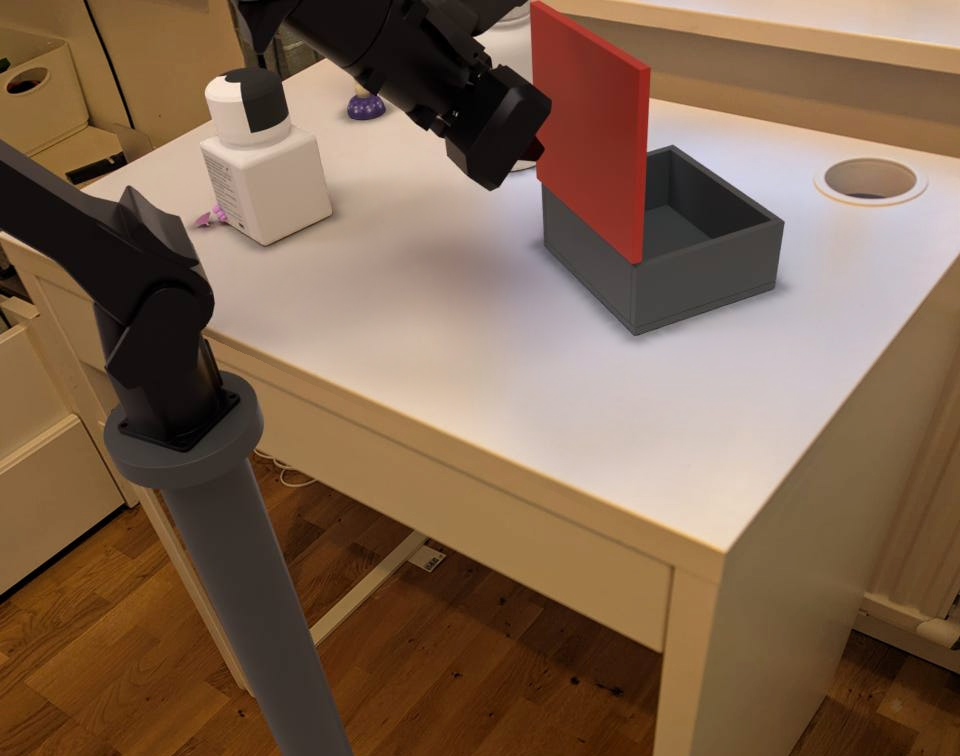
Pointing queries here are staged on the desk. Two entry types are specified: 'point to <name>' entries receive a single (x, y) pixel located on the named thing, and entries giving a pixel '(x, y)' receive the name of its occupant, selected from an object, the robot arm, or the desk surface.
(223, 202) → the container
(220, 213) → the pink bumpy piece
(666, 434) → the desk surface
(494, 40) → the pill bottle
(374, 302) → the desk surface
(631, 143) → the lid
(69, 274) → the robot arm
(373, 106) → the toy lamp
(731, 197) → the box
